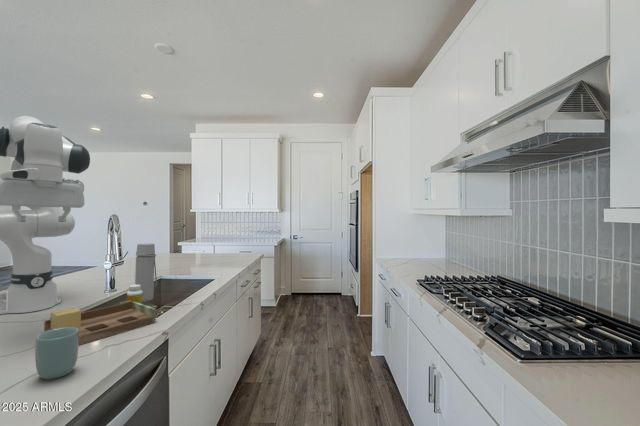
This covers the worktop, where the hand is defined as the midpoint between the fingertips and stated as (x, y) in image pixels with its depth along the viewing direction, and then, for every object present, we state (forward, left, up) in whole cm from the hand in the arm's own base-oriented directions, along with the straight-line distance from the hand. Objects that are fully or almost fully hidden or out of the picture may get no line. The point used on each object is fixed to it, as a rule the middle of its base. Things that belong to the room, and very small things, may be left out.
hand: (42, 221), depth 91 cm
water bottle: (-17, +41, -36) cm, 57 cm away
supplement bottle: (-7, +31, -36) cm, 48 cm away
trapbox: (+6, +15, -36) cm, 39 cm away
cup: (+28, -4, -36) cm, 46 cm away
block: (+2, +6, -33) cm, 34 cm away
